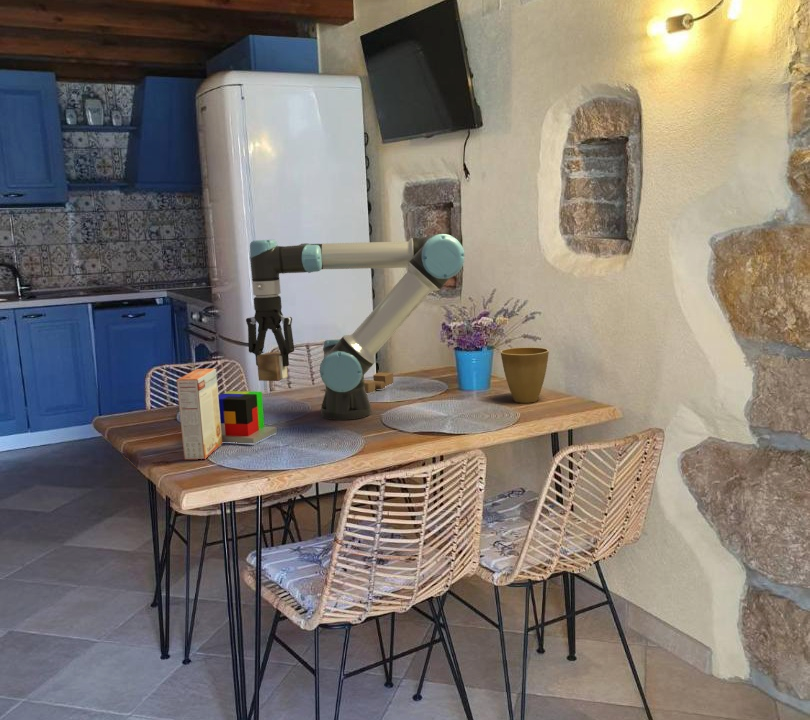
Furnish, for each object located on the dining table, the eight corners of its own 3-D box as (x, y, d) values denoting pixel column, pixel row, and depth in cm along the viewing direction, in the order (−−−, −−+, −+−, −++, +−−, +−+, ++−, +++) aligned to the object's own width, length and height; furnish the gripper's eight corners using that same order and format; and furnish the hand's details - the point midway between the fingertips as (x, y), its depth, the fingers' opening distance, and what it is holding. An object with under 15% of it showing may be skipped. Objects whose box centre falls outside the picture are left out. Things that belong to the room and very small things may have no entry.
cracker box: (201, 445, 217) (195, 368, 213) (223, 445, 216) (217, 367, 213) (182, 460, 203) (175, 378, 200) (205, 460, 203) (198, 378, 199)
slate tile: (276, 434, 226) (276, 427, 225) (253, 445, 214) (253, 438, 214) (227, 430, 231) (227, 423, 231) (202, 441, 220) (202, 434, 220)
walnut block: (288, 376, 232) (286, 352, 230) (277, 381, 226) (275, 356, 225) (269, 376, 234) (267, 352, 233) (258, 380, 228) (256, 356, 227)
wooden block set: (370, 380, 271) (325, 376, 280) (371, 396, 272) (326, 392, 281) (395, 371, 286) (352, 368, 294) (396, 386, 287) (353, 383, 295)
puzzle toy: (214, 435, 219) (211, 398, 217) (231, 425, 229) (228, 390, 227) (248, 436, 217) (245, 399, 215) (264, 426, 226) (261, 391, 224)
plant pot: (547, 395, 263) (547, 346, 260) (550, 405, 248) (550, 353, 245) (501, 395, 264) (500, 347, 262) (501, 406, 250) (500, 354, 247)
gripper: (230, 297, 226) (237, 379, 230) (290, 296, 219) (296, 381, 223) (245, 294, 233) (251, 374, 237) (303, 294, 226) (309, 375, 230)
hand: (273, 377), depth 230 cm, fingers closed on walnut block, 6 cm apart
